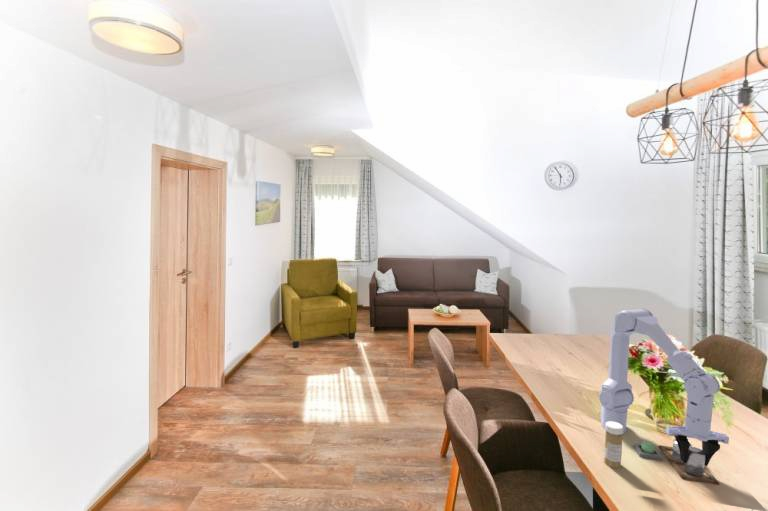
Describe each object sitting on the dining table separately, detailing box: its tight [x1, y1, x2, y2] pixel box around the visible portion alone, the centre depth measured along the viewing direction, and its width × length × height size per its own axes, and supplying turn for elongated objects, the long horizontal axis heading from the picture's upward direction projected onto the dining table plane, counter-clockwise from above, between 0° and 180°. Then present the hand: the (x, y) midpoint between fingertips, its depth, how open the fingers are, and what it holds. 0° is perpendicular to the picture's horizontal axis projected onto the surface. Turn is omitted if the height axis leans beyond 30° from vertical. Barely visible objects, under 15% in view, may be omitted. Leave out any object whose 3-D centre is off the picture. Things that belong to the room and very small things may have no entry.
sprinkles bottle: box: [603, 421, 623, 469], centre depth 120 cm, size 5×5×14 cm
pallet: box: [658, 444, 720, 486], centre depth 122 cm, size 17×9×2 cm, turn 165°
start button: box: [640, 440, 656, 454], centre depth 127 cm, size 3×3×3 cm
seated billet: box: [671, 438, 693, 461], centre depth 125 cm, size 4×4×6 cm
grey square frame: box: [632, 442, 663, 461], centre depth 127 cm, size 6×6×2 cm
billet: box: [683, 446, 706, 477], centre depth 117 cm, size 4×4×6 cm
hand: (693, 462), depth 117 cm, fingers closed on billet, 4 cm apart
